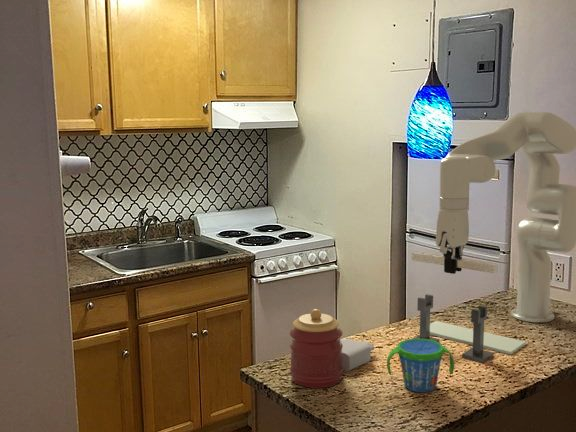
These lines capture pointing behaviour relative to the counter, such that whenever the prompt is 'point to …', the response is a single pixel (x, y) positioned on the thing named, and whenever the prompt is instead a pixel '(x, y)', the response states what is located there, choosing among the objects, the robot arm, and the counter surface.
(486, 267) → the rail
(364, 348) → the charger
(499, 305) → the counter surface
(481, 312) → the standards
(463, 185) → the robot arm
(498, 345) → the board
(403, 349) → the snack cup
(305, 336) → the canister
